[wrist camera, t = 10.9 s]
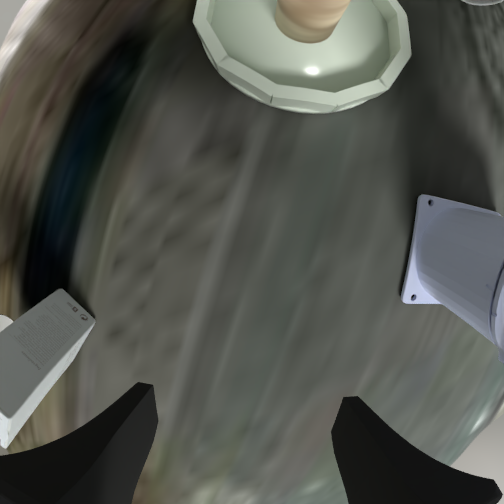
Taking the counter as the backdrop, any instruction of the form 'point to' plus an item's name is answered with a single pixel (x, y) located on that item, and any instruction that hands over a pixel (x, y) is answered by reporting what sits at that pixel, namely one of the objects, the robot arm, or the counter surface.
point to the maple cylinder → (309, 18)
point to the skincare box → (37, 356)
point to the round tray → (305, 54)
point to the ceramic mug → (482, 2)
